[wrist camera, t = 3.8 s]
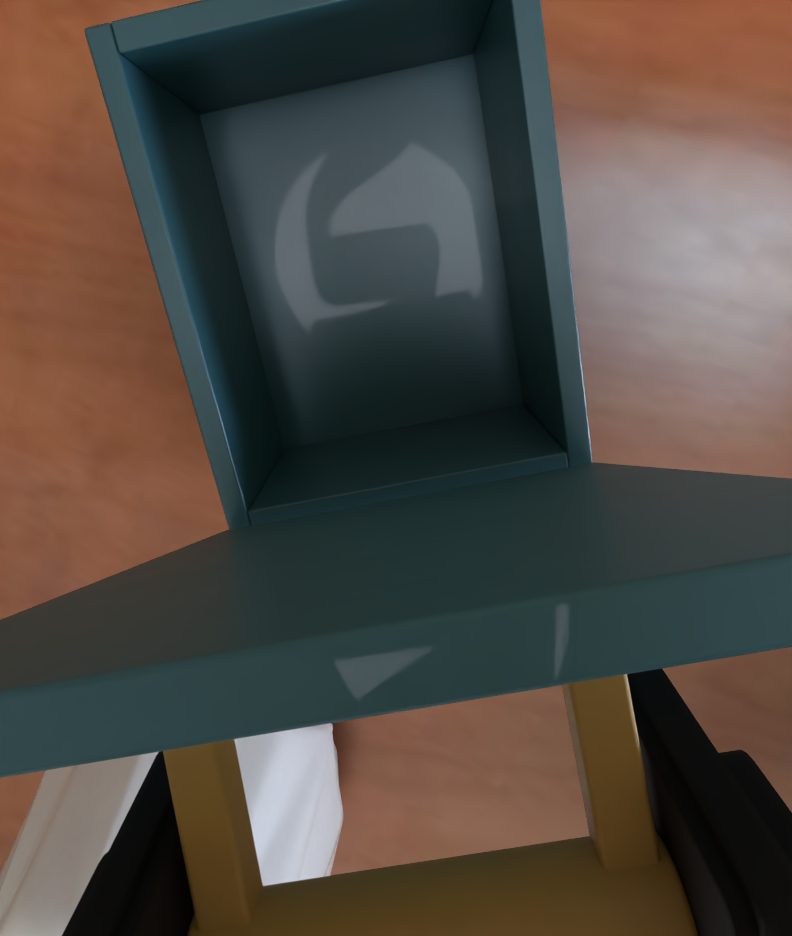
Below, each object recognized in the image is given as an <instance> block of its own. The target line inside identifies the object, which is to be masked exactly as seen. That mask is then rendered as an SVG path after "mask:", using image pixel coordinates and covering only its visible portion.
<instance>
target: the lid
mask: <svg viewBox="0 0 792 936" xmlns="http://www.w3.org/2000/svg"><path fill="white" fill-rule="evenodd" d="M788 647H792V479H788V478H775V477H763V476H751V475H739V474H727V473H714V472H702V471H690V470H678V469H666V468H653V467H641V466H629V465H617V464H605V463H589V464H583V465H578V466H572V467H567V468H562V469H556V470H551V471H545V472H540V473H535V474H529V475H524V476H518V477H513V478H507V479H502V480H497V481H491V482H486V483H480V484H475V485H469V486H464V487H459V488H453V489H448V490H442V491H437V492H432V493H426V494H421V495H415V496H410V497H404V498H399V499H394V500H388V501H383V502H377V503H372V504H366V505H361V506H356V507H350V508H345V509H339V510H334V511H329V512H323V513H318V514H312V515H307V516H301V517H296V518H291V519H285V520H280V521H274V522H269V523H263V524H258V525H253V526H247V527H242V528H236V529H231V530H226V531H224V532H221V533H219V534H216V535H214V536H211V537H209V538H206V539H204V540H201V541H198V542H196V543H193V544H191V545H188V546H186V547H183V548H181V549H178V550H176V551H173V552H171V553H168V554H166V555H163V556H161V557H158V558H156V559H153V560H151V561H148V562H146V563H143V564H140V565H138V566H135V567H133V568H130V569H128V570H125V571H123V572H120V573H118V574H115V575H113V576H110V577H108V578H105V579H103V580H100V581H98V582H95V583H93V584H90V585H88V586H85V587H82V588H80V589H77V590H75V591H72V592H70V593H67V594H65V595H62V596H60V597H57V598H55V599H52V600H50V601H47V602H45V603H42V604H40V605H37V606H35V607H32V608H30V609H27V610H24V611H22V612H19V613H17V614H14V615H12V616H9V617H7V618H4V619H2V620H0V778H3V777H9V776H15V775H21V774H27V773H33V772H39V771H45V770H51V769H57V768H63V767H69V766H75V765H81V764H87V763H93V762H99V761H105V760H111V759H117V758H124V757H130V756H136V755H142V754H148V753H154V752H160V751H163V754H164V759H165V764H166V770H167V775H168V780H169V785H170V790H171V795H172V800H173V805H174V810H175V815H176V821H177V826H178V831H179V836H180V841H181V846H182V851H183V856H184V861H185V866H186V871H187V877H188V882H189V887H190V892H191V897H192V902H193V907H194V912H195V913H194V915H193V918H192V920H191V923H190V926H189V930H188V933H187V936H698V932H697V928H696V925H695V921H694V918H693V914H692V911H691V908H690V905H689V902H688V899H687V896H686V893H685V890H684V887H683V884H682V882H681V879H680V876H679V874H678V871H677V869H676V866H675V864H674V862H673V860H672V857H671V855H670V853H669V851H668V849H667V847H666V846H665V844H664V842H663V841H662V839H661V838H660V836H659V835H658V833H657V832H656V830H655V825H654V819H653V814H652V809H651V803H650V798H649V792H648V787H647V781H646V776H645V770H644V765H643V759H642V754H641V748H640V743H639V737H638V732H637V727H636V721H635V716H634V710H633V705H632V699H631V694H630V688H629V683H628V677H627V674H631V673H637V672H643V671H649V670H655V669H661V668H667V667H673V666H679V665H685V664H691V663H697V662H703V661H709V660H715V659H721V658H727V657H733V656H739V655H745V654H751V653H757V652H764V651H770V650H776V649H782V648H788ZM558 685H562V688H563V693H564V698H565V704H566V709H567V715H568V720H569V725H570V731H571V736H572V742H573V747H574V753H575V758H576V763H577V769H578V774H579V780H580V785H581V790H582V796H583V801H584V807H585V812H586V817H587V823H588V828H589V834H590V836H588V837H581V838H575V839H568V840H562V841H555V842H548V843H542V844H535V845H529V846H522V847H516V848H509V849H502V850H496V851H489V852H483V853H476V854H470V855H463V856H456V857H450V858H443V859H437V860H430V861H424V862H417V863H410V864H404V865H397V866H391V867H384V868H378V869H371V870H364V871H358V872H351V873H345V874H338V875H332V876H325V877H318V878H312V879H305V880H299V881H292V882H285V883H279V884H272V885H266V886H263V884H262V879H261V874H260V869H259V864H258V858H257V853H256V848H255V843H254V838H253V833H252V828H251V822H250V817H249V812H248V807H247V802H246V797H245V792H244V786H243V781H242V776H241V771H240V766H239V761H238V755H237V750H236V745H235V740H234V739H238V738H244V737H250V736H256V735H262V734H268V733H274V732H280V731H287V730H293V729H299V728H305V727H311V726H317V725H323V724H329V723H335V722H341V721H347V720H353V719H359V718H365V717H371V716H377V715H383V714H389V713H395V712H401V711H407V710H413V709H419V708H425V707H431V706H437V705H444V704H450V703H456V702H462V701H468V700H474V699H480V698H486V697H492V696H498V695H504V694H510V693H516V692H522V691H528V690H534V689H540V688H546V687H552V686H558Z"/></svg>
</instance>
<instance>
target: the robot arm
mask: <svg viewBox="0 0 792 936" xmlns="http://www.w3.org/2000/svg"><path fill="white" fill-rule="evenodd" d="M627 677H628V683H629V688H630V694H631V699H632V705H633V710H634V716H635V721H636V727H637V732H638V737H639V743H640V748H641V754H642V759H643V765H644V770H645V776H646V781H647V787H648V792H649V798H650V803H651V809H652V814H653V819H654V825H655V830H656V832H657V833H658V835H659V836H660V838H661V839H662V841H663V842H664V844H665V846H666V847H667V849H668V851H669V853H670V855H671V857H672V860H673V862H674V864H675V866H676V869H677V871H678V874H679V876H680V879H681V882H682V884H683V887H684V890H685V893H686V896H687V899H688V902H689V905H690V908H691V911H692V914H693V918H694V921H695V925H696V928H697V932H698V936H792V813H791V811H790V810H789V808H788V807H787V806H786V804H785V803H784V802H783V800H782V799H781V797H780V796H779V795H778V793H777V792H776V791H775V789H774V788H773V786H772V785H771V784H770V782H769V781H768V780H767V778H766V777H765V775H764V774H763V773H762V771H761V770H760V769H759V767H758V766H757V764H756V763H755V762H754V761H753V759H752V758H751V757H750V756H749V755H748V754H747V753H746V752H744V751H742V750H736V751H729V752H723V753H718V752H717V750H716V749H715V747H714V746H713V744H712V743H711V741H710V740H709V738H708V737H707V735H706V734H705V732H704V731H703V729H702V728H701V726H700V725H699V723H698V722H697V720H696V719H695V717H694V716H693V714H692V713H691V711H690V710H689V708H688V707H687V705H686V704H685V702H684V701H683V699H682V698H681V696H680V695H679V693H678V692H677V690H676V689H675V687H674V686H673V684H672V683H671V681H670V680H669V678H668V677H667V675H666V674H665V672H664V671H663V670H662V669H655V670H649V671H643V672H637V673H631V674H627ZM194 913H195V912H194V907H193V902H192V897H191V892H190V887H189V882H188V877H187V871H186V866H185V861H184V856H183V851H182V846H181V841H180V836H179V831H178V826H177V821H176V815H175V810H174V805H173V800H172V795H171V790H170V785H169V780H168V775H167V770H166V764H165V759H164V754H163V751H160V752H158V754H157V755H156V757H155V759H154V761H153V763H152V765H151V767H150V769H149V771H148V773H147V775H146V777H145V779H144V781H143V783H142V785H141V787H140V789H139V791H138V793H137V795H136V797H135V799H134V801H133V803H132V805H131V807H130V809H129V811H128V813H127V815H126V817H125V819H124V821H123V823H122V825H121V827H120V829H119V831H118V833H117V835H116V837H115V839H114V841H113V843H112V845H111V847H110V849H109V851H108V852H107V853H106V854H104V856H103V857H102V859H101V860H100V862H99V863H98V865H97V867H96V869H95V871H94V873H93V875H92V877H91V879H90V881H89V883H88V885H87V887H86V889H85V891H84V893H83V895H82V897H81V899H80V901H79V903H78V905H77V907H76V909H75V911H74V913H73V915H72V917H71V919H70V921H69V922H68V924H67V926H66V928H65V930H64V932H63V934H62V936H187V933H188V930H189V926H190V923H191V920H192V918H193V915H194Z"/></svg>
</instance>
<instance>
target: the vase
mask: <svg viewBox="0 0 792 936" xmlns="http://www.w3.org/2000/svg"><path fill="white" fill-rule="evenodd" d="M332 731H333V725H332V723H329V724H323V725H317V726H311V727H305V728H299V729H293V730H287V731H280V732H274V733H268V734H262V735H256V736H250V737H244V738H238V739H234V740H235V745H236V750H237V755H238V761H239V766H240V771H241V776H242V781H243V786H244V792H245V797H246V802H247V807H248V812H249V817H250V822H251V828H252V833H253V838H254V843H255V848H256V853H257V858H258V864H259V869H260V874H261V879H262V884H263V886H266V885H272V884H279V883H285V882H292V881H299V880H305V879H312V878H318V877H325V876H330V874H331V870H332V866H333V862H334V858H335V853H336V849H337V845H338V840H339V835H340V831H341V827H342V822H343V809H342V801H341V796H340V789H339V778H338V759H337V749H336V747H335V745H334V742H333V735H332ZM157 754H158V752H154V753H148V754H142V755H136V756H130V757H124V758H117V759H111V760H105V761H99V762H93V763H87V764H81V765H75V766H69V767H63V768H57V769H51V770H45V772H44V775H43V777H42V780H41V782H40V785H39V787H38V790H37V793H36V795H35V798H34V800H33V802H32V805H31V807H30V809H29V811H28V813H27V816H26V818H25V820H24V822H23V824H22V826H21V829H20V831H19V833H18V835H17V837H16V839H15V842H14V844H13V846H12V848H11V850H10V853H9V855H8V857H7V859H6V861H5V864H4V866H3V868H2V870H1V873H0V936H62V934H63V932H64V930H65V928H66V926H67V924H68V922H69V921H70V919H71V917H72V915H73V913H74V911H75V909H76V907H77V905H78V903H79V901H80V899H81V897H82V895H83V893H84V891H85V889H86V887H87V885H88V883H89V881H90V879H91V877H92V875H93V873H94V871H95V869H96V867H97V865H98V863H99V862H100V860H101V859H102V857H103V856H104V854H106V853H107V852H108V851H109V849H110V847H111V845H112V843H113V841H114V839H115V837H116V835H117V833H118V831H119V829H120V827H121V825H122V823H123V821H124V819H125V817H126V815H127V813H128V811H129V809H130V807H131V805H132V803H133V801H134V799H135V797H136V795H137V793H138V791H139V789H140V787H141V785H142V783H143V781H144V779H145V777H146V775H147V773H148V771H149V769H150V767H151V765H152V763H153V761H154V759H155V757H156V755H157Z"/></svg>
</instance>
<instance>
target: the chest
mask: <svg viewBox="0 0 792 936" xmlns="http://www.w3.org/2000/svg"><path fill="white" fill-rule="evenodd" d="M85 35H86V38H87V41H88V45H89V48H90V52H91V55H92V59H93V62H94V66H95V69H96V72H97V76H98V79H99V83H100V86H101V90H102V93H103V97H104V100H105V103H106V107H107V110H108V114H109V117H110V121H111V124H112V127H113V131H114V134H115V138H116V141H117V145H118V148H119V152H120V155H121V158H122V162H123V165H124V169H125V172H126V176H127V179H128V182H129V186H130V189H131V193H132V196H133V200H134V203H135V207H136V210H137V213H138V217H139V220H140V224H141V227H142V231H143V234H144V237H145V241H146V244H147V248H148V251H149V255H150V258H151V262H152V265H153V268H154V272H155V275H156V279H157V282H158V286H159V289H160V293H161V296H162V299H163V303H164V306H165V310H166V313H167V317H168V320H169V323H170V327H171V330H172V334H173V337H174V341H175V344H176V348H177V351H178V354H179V358H180V361H181V365H182V368H183V372H184V375H185V378H186V382H187V385H188V389H189V392H190V396H191V399H192V403H193V406H194V409H195V413H196V416H197V420H198V423H199V427H200V430H201V434H202V437H203V440H204V444H205V447H206V451H207V454H208V458H209V461H210V464H211V468H212V471H213V475H214V478H215V482H216V485H217V489H218V492H219V495H220V499H221V502H222V506H223V509H224V513H225V516H226V519H227V523H228V526H229V530H231V529H236V528H242V527H247V526H253V525H258V524H263V523H269V522H274V521H280V520H285V519H291V518H296V517H301V516H307V515H312V514H318V513H323V512H329V511H334V510H339V509H345V508H350V507H356V506H361V505H366V504H372V503H377V502H383V501H388V500H394V499H399V498H404V497H410V496H415V495H421V494H426V493H432V492H437V491H442V490H448V489H453V488H459V487H464V486H469V485H475V484H480V483H486V482H491V481H497V480H502V479H507V478H513V477H518V476H524V475H529V474H535V473H540V472H545V471H551V470H556V469H562V468H567V467H572V466H578V465H583V464H589V463H593V461H592V452H591V443H590V434H589V426H588V417H587V408H586V399H585V390H584V382H583V373H582V364H581V355H580V346H579V338H578V329H577V320H576V311H575V302H574V293H573V285H572V276H571V267H570V258H569V249H568V241H567V232H566V223H565V214H564V205H563V197H562V188H561V179H560V170H559V161H558V152H557V144H556V135H555V126H554V117H553V108H552V100H551V91H550V82H549V73H548V64H547V55H546V47H545V38H544V29H543V20H542V11H541V3H540V0H203V1H198V2H194V3H190V4H185V5H181V6H177V7H172V8H168V9H164V10H159V11H155V12H151V13H147V14H142V15H138V16H134V17H129V18H125V19H121V20H116V21H113V22H111V24H110V23H106V24H101V25H97V26H93V27H88V28H86V29H85Z"/></svg>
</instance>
